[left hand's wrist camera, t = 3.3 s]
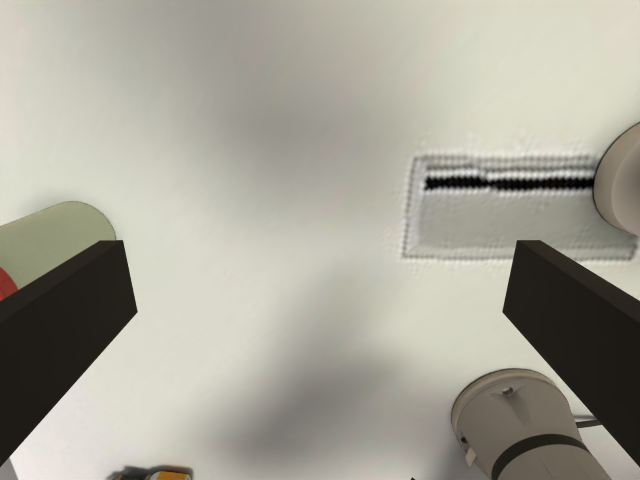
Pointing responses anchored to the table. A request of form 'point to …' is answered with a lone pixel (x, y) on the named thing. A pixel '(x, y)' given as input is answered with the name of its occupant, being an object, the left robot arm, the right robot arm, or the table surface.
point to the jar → (49, 239)
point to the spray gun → (160, 476)
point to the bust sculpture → (620, 183)
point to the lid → (6, 285)
